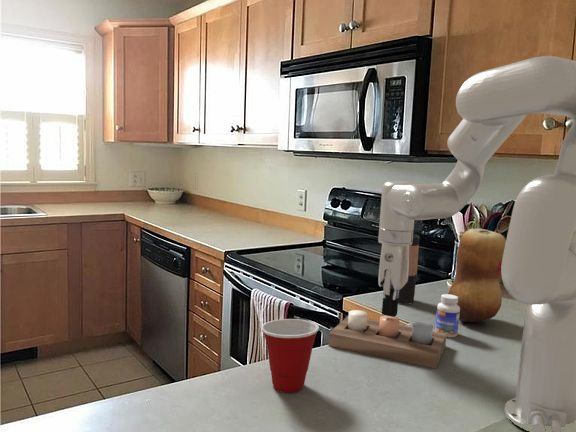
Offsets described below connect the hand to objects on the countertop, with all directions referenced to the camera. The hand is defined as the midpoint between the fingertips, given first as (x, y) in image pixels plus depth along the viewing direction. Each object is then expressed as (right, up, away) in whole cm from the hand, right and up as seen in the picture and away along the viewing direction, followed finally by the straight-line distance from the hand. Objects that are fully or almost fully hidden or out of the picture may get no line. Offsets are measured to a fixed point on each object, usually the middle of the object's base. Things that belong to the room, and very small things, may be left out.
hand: (389, 314), depth 118 cm
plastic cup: (-23, -10, -21) cm, 33 cm away
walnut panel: (0, -7, +1) cm, 7 cm away
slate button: (+7, -6, -2) cm, 9 cm away
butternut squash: (+27, -6, +21) cm, 34 cm away
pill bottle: (+16, -7, +10) cm, 21 cm away
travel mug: (+11, -3, +37) cm, 39 cm away
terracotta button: (0, -5, +1) cm, 5 cm away
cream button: (-7, -4, +4) cm, 9 cm away
